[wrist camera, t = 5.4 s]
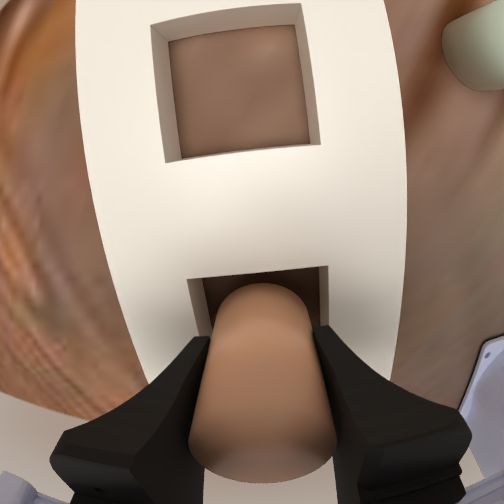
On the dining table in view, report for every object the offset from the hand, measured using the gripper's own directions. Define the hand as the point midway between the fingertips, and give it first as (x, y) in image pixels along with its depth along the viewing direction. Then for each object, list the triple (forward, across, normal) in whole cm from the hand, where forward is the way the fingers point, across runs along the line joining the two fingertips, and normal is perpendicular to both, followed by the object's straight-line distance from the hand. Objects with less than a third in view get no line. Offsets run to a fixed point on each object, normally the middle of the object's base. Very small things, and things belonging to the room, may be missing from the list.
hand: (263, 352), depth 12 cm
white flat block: (+4, 0, -5) cm, 6 cm away
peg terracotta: (+2, 0, 0) cm, 2 cm away
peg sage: (+4, -12, -12) cm, 17 cm away
